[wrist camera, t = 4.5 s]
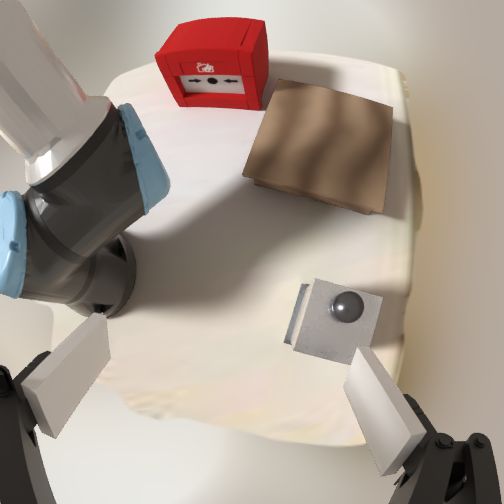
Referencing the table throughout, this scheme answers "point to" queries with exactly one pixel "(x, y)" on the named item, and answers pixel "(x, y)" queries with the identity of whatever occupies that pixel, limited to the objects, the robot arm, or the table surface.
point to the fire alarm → (216, 63)
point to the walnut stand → (323, 147)
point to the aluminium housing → (332, 321)
